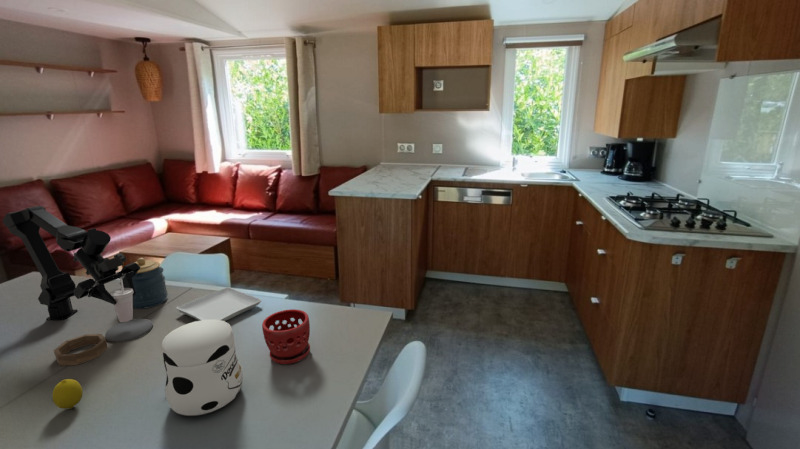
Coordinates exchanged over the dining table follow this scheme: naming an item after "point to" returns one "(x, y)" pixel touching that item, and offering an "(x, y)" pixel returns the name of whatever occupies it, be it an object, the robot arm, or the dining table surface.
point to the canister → (149, 284)
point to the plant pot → (287, 336)
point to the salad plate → (219, 305)
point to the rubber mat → (128, 330)
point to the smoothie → (123, 303)
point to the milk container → (201, 367)
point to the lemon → (67, 393)
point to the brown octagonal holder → (84, 355)
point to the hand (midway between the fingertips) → (125, 299)
